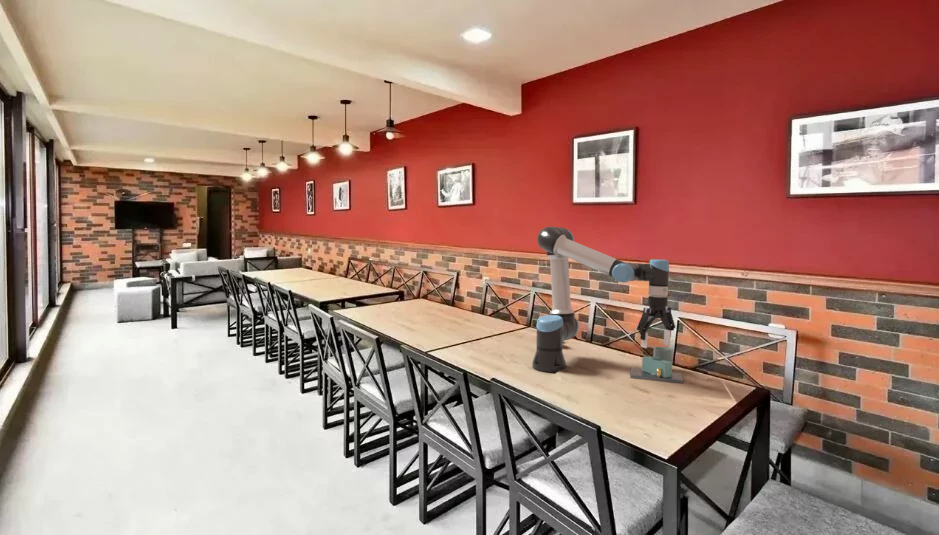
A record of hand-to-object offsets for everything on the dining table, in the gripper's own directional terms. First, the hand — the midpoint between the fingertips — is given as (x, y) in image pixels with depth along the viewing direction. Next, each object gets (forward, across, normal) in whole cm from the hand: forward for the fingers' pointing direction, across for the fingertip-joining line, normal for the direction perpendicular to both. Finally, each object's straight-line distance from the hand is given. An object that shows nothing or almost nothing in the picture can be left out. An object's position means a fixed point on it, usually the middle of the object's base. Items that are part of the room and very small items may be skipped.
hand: (655, 346), depth 190 cm
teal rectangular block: (+11, 0, -1) cm, 11 cm away
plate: (+13, 0, -1) cm, 13 cm away
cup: (+13, +11, +5) cm, 18 cm away
